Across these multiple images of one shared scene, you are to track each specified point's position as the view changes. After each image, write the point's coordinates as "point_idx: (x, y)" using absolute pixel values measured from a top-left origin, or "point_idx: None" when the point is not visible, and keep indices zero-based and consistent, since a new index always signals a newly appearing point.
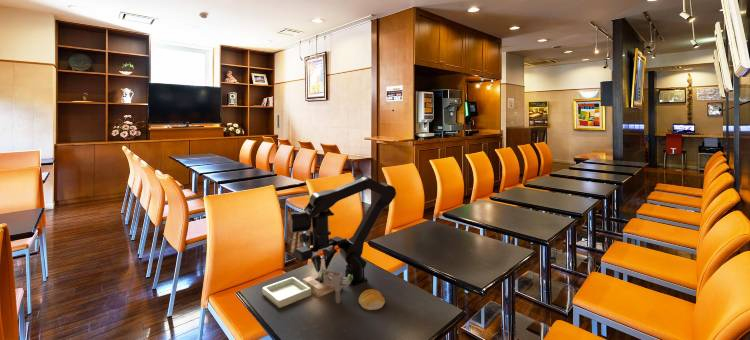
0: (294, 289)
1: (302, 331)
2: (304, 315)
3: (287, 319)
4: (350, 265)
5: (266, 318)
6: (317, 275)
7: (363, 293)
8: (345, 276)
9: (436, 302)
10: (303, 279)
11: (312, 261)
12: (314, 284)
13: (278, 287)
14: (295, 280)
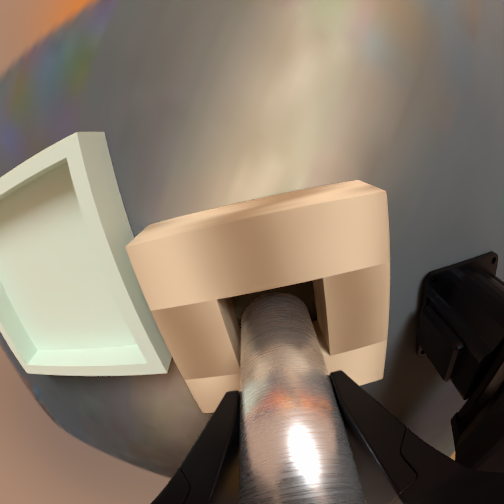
0: (84, 264)
1: (124, 458)
2: (130, 428)
3: (79, 413)
4: (482, 386)
5: (22, 373)
6: (272, 248)
7: None
8: (432, 324)
9: (451, 449)
10: (129, 258)
11: (166, 495)
12: (195, 367)
13: (13, 192)
14: (81, 206)
